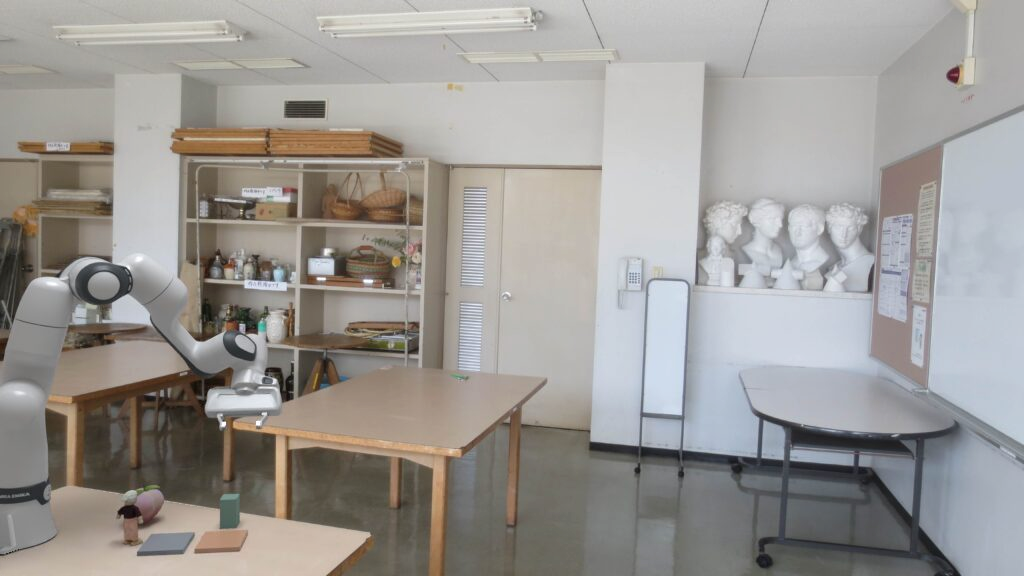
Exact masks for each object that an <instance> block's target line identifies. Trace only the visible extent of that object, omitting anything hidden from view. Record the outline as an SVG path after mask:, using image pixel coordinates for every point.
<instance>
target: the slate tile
mask: <svg viewBox="0 0 1024 576" xmlns="http://www.w3.org/2000/svg"><path fill="white" fill-rule="evenodd" d="M195 533H196V532H195V531H190V532H187V531H184V532H167V533H166V532H164V533H160V532H159V533H151V534H150V535H149V536H148V537H147V538H146V539H145V541H143V543H142V545H141V546H140V547H139V548H138V550H137V551H136V556H137V557H139V556H140V557H141V556H142V557H145V556H159V555H160V556H162V555H164V556H165V555H182V554H183V555H184V553H185V552H186V550H187V549H188V547H189V545H190V544H191V543H192V541H193V539H194V537H195V536H196V534H195Z"/></svg>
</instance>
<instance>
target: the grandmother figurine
mask: <svg viewBox="0 0 1024 576" xmlns="http://www.w3.org/2000/svg"><path fill="white" fill-rule="evenodd" d="M136 497H137V492H136V491H135V490H134V489H131V490H128V491H126V492H125V493H124V495H123V496H122V499H121V502H122V503H126V505H125V506H124V505H123V506H122V507H120V508H119V509H118V510H117V511H116V512H117V513H116V516H115V519H116V520H120V519H121V517H122V516H123V538H124V539H123V541H122V544H123V545H129V544H130V546H136V545H140V544H143V543H144V541H143V539H142V538H139V529H138V528H139V527H138V526H139V525H143V524H144V523H143V520H142V519H143V518H142V514H141V512H140V510H139V508H138V507H137V506H135V505H134V504H135V503H136V501H137V498H136ZM137 519H138V521H139V522H137ZM138 524H139V525H138Z"/></svg>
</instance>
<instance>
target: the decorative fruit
mask: <svg viewBox="0 0 1024 576" xmlns="http://www.w3.org/2000/svg"><path fill="white" fill-rule="evenodd" d="M142 486H143V487H141V488H137V489H135V490H134V491H136V492H137V497H136V498H137V501H136V503H135V504H134V505H135V506H137V507H138V508H139V510H140V512H141V514H142V518H143V519H142V520H143V524H144V523H147V522H149V521H151V520H152V519H153V518H155V517H156V516H157V515H158V514H159V512H160V511H161V509H162V508H163V506H164V503H165V496H164V495H163V493H162V492H161V491H160V490H159V489H161V487H160V486H159V485H156V484H151V485H147V486H146V485H145V484H143V485H142ZM123 503H124V504H123V506H125V505H126V503H125V502H123ZM137 522H138V523H139V521H138V519H137Z"/></svg>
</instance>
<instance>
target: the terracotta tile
mask: <svg viewBox="0 0 1024 576" xmlns="http://www.w3.org/2000/svg"><path fill="white" fill-rule="evenodd" d="M248 533H249V529H240V530H239V529H237V530H236V529H235V530H217V531H216V530H212V531H210V530H209V531H204V533H203V535H202V536H201V538H200V540H199V541H198V542H197V544H196V546H195V548H194V554H202V553H203V554H205V553H207V554H208V553H224V552H225V553H228V552H229V553H230V552H240V550H241V549H242V547H243V545H244V543H245V540H246V539H247V536H248Z"/></svg>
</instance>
